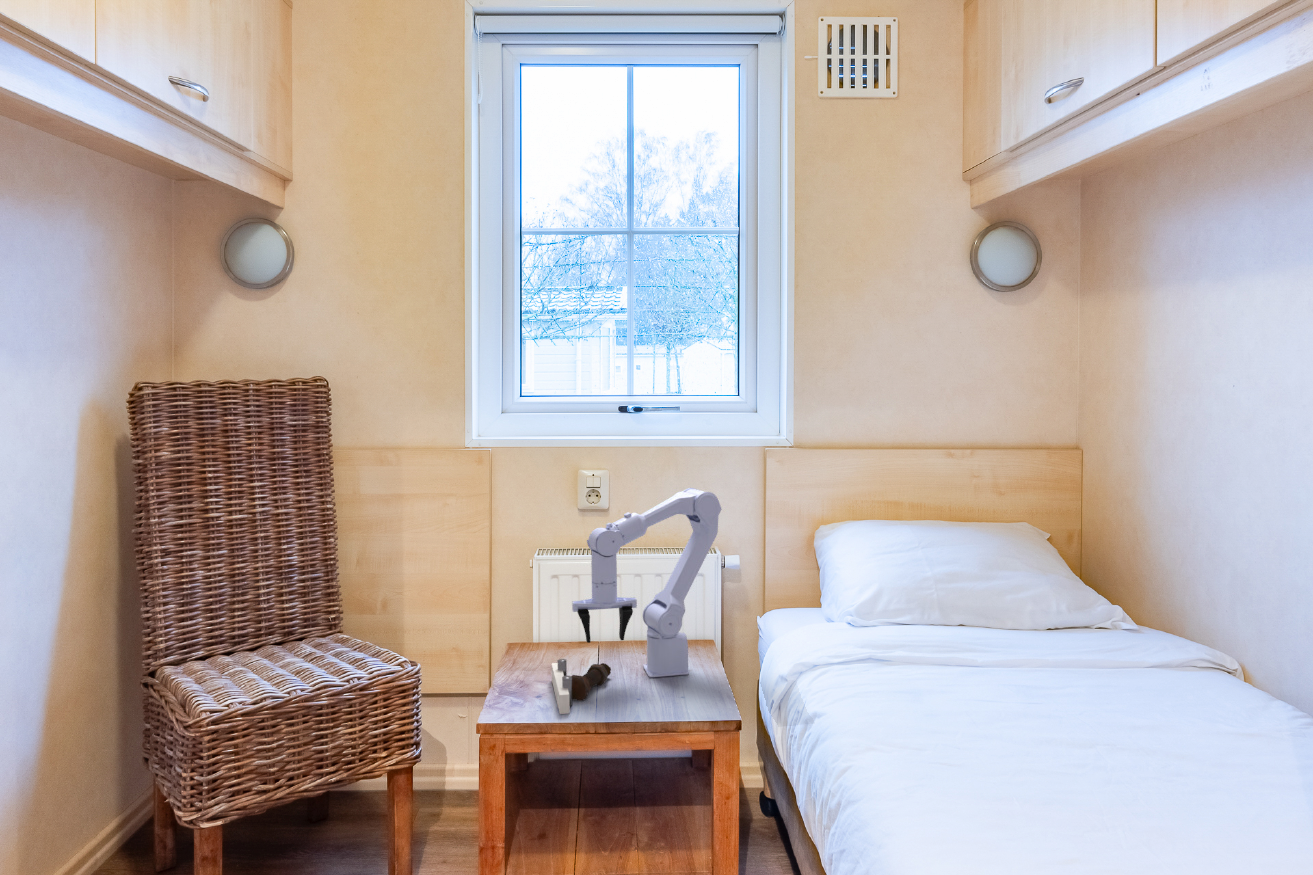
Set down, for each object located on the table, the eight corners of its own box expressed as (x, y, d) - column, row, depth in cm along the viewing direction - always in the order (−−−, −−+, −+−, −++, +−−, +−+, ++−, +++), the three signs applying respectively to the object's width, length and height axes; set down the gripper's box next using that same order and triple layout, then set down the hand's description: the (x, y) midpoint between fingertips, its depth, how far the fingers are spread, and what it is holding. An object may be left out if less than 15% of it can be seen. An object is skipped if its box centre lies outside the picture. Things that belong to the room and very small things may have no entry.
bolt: (608, 685, 190) (579, 707, 176) (591, 672, 191) (560, 692, 177) (619, 665, 189) (591, 685, 175) (602, 652, 190) (572, 671, 176)
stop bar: (564, 679, 189) (564, 653, 188) (574, 712, 169) (574, 684, 169) (551, 680, 188) (551, 654, 188) (559, 714, 168) (559, 685, 168)
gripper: (574, 587, 181) (575, 647, 182) (639, 583, 184) (639, 643, 185) (570, 579, 188) (571, 638, 188) (633, 576, 191) (633, 633, 191)
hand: (605, 640), depth 187 cm, fingers open, 7 cm apart
